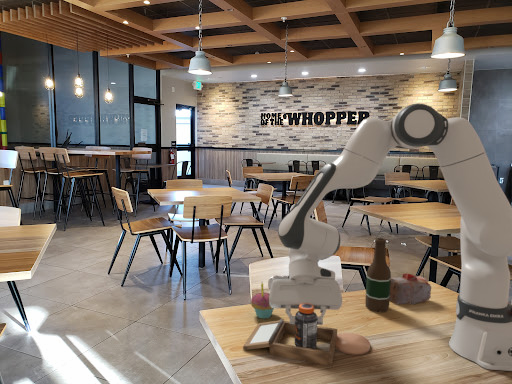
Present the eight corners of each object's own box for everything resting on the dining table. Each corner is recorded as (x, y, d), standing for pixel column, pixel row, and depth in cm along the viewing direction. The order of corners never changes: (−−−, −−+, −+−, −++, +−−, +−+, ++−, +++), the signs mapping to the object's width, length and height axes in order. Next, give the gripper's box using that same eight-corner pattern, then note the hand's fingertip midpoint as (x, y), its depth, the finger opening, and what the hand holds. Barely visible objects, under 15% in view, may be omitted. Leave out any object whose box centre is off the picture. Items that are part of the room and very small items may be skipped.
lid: (281, 330, 112) (282, 320, 112) (269, 354, 99) (269, 343, 98) (258, 326, 114) (258, 316, 114) (243, 349, 101) (243, 338, 101)
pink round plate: (370, 339, 108) (370, 335, 108) (369, 357, 98) (369, 353, 98) (334, 333, 111) (334, 330, 110) (330, 350, 101) (330, 347, 101)
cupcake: (272, 323, 117) (273, 285, 115) (246, 318, 119) (246, 282, 118) (279, 311, 125) (280, 276, 123) (255, 308, 127) (255, 273, 126)
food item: (417, 295, 141) (418, 269, 140) (432, 303, 133) (434, 276, 132) (385, 298, 137) (386, 272, 136) (398, 307, 130) (400, 279, 129)
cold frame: (336, 339, 107) (337, 326, 107) (331, 365, 94) (332, 351, 94) (280, 330, 112) (280, 317, 112) (267, 354, 99) (267, 340, 99)
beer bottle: (390, 313, 124) (394, 242, 122) (366, 311, 126) (369, 240, 123) (387, 304, 132) (391, 236, 129) (364, 302, 133) (367, 235, 131)
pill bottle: (292, 340, 106) (293, 301, 105) (313, 339, 106) (314, 300, 105) (296, 351, 100) (297, 310, 99) (318, 350, 100) (320, 310, 99)
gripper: (268, 270, 108) (267, 318, 100) (340, 272, 107) (346, 320, 99) (268, 280, 113) (267, 326, 105) (337, 281, 112) (342, 328, 104)
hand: (306, 323), depth 102 cm, fingers closed on pill bottle, 6 cm apart
